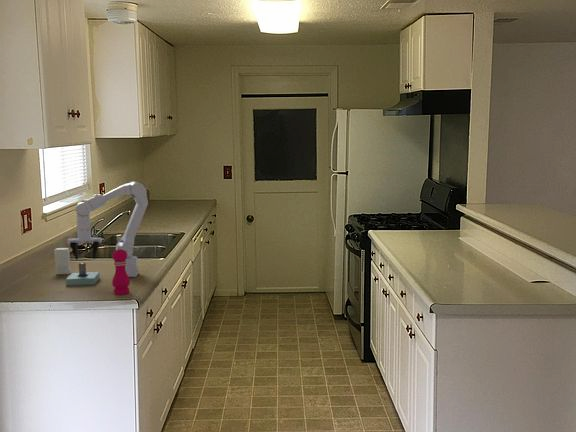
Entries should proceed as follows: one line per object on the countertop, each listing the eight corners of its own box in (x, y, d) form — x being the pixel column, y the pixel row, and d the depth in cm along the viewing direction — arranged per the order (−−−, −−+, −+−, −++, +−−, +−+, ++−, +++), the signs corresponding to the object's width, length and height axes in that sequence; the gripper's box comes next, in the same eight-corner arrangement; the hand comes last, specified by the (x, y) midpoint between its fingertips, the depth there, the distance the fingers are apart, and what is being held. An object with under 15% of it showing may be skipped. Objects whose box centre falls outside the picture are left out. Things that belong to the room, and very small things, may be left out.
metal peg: (86, 280, 282) (85, 262, 281) (86, 281, 279) (85, 264, 278) (80, 280, 282) (78, 263, 281) (79, 282, 279) (78, 264, 278)
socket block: (99, 278, 287) (99, 271, 287) (94, 284, 276) (94, 278, 275) (72, 279, 286) (72, 272, 286) (66, 285, 274) (65, 279, 274)
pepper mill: (130, 294, 260) (128, 246, 257) (112, 295, 258) (110, 248, 255) (130, 290, 267) (128, 243, 264) (112, 291, 265) (110, 244, 262)
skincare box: (71, 272, 300) (69, 247, 298) (68, 274, 295) (67, 249, 294) (57, 272, 299) (56, 247, 297) (55, 274, 295) (53, 249, 293)
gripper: (65, 230, 277) (67, 261, 279) (99, 229, 278) (100, 259, 280) (68, 228, 284) (70, 257, 286) (101, 227, 285) (103, 256, 287)
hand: (85, 258), depth 283 cm, fingers open, 7 cm apart
